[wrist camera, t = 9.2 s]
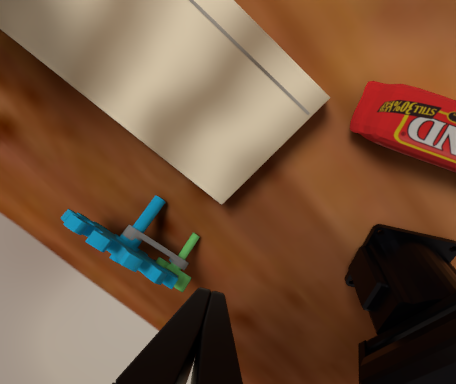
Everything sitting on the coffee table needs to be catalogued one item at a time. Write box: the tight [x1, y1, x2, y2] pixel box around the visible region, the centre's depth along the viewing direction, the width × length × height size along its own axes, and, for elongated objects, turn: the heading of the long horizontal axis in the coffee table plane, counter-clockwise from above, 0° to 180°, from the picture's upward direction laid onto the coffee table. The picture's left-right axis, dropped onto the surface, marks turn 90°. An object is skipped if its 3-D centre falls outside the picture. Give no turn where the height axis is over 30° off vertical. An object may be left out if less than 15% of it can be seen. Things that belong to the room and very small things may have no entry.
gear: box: [61, 196, 200, 292], centre depth 22 cm, size 11×6×10 cm
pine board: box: [0, 0, 330, 205], centre depth 16 cm, size 23×10×2 cm, turn 50°
